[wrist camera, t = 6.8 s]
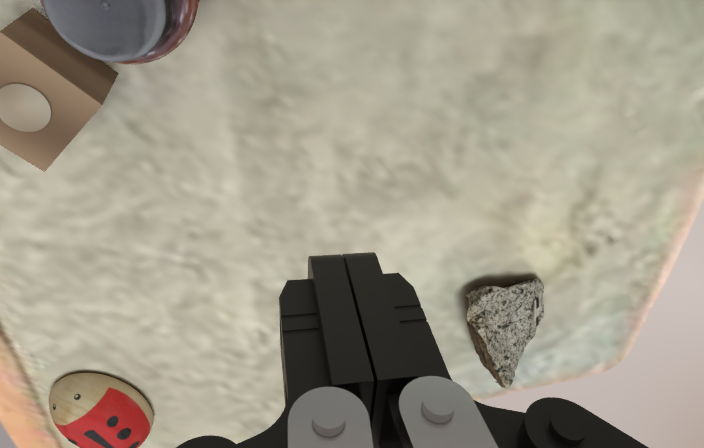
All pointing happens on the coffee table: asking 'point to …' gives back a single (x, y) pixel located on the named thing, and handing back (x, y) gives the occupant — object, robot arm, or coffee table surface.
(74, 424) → the ladybug figurine
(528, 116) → the coffee table surface
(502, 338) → the rock sample
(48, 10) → the supplement bottle
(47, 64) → the walnut dotted block
